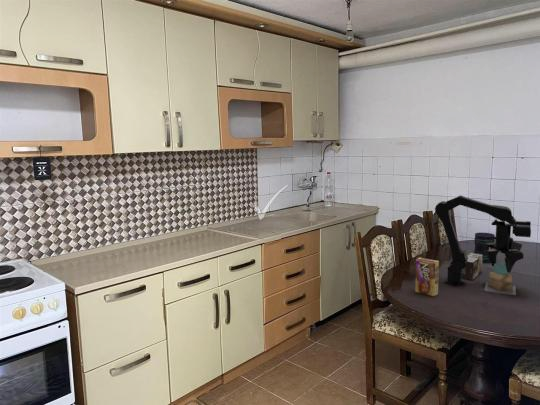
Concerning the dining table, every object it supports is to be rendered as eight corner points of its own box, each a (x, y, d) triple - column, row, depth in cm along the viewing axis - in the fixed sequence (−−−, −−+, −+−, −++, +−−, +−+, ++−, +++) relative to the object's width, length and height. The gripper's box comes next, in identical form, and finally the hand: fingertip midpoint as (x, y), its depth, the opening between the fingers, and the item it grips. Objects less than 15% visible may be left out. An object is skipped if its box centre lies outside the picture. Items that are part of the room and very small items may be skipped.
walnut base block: (498, 291, 180) (499, 283, 179) (487, 286, 186) (488, 278, 186) (512, 290, 181) (513, 282, 180) (501, 284, 187) (501, 277, 187)
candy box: (438, 293, 180) (439, 260, 178) (434, 296, 177) (435, 262, 175) (419, 289, 186) (419, 256, 184) (414, 291, 183) (415, 259, 181)
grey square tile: (515, 295, 175) (515, 294, 175) (484, 291, 181) (484, 290, 181) (515, 286, 186) (515, 285, 186) (485, 282, 192) (485, 282, 192)
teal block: (500, 274, 180) (500, 266, 180) (493, 272, 184) (494, 263, 183) (508, 274, 181) (508, 265, 180) (501, 271, 185) (502, 262, 184)
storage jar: (489, 258, 230) (490, 232, 228) (496, 263, 220) (498, 236, 218) (470, 258, 231) (471, 232, 229) (477, 263, 222) (478, 236, 219)
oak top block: (499, 283, 180) (499, 275, 179) (489, 279, 185) (490, 271, 185) (511, 282, 181) (511, 274, 180) (501, 277, 186) (502, 270, 186)
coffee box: (469, 252, 210) (459, 259, 198) (482, 254, 206) (473, 262, 194) (468, 269, 212) (458, 277, 200) (482, 272, 207) (472, 280, 195)
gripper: (536, 238, 172) (533, 274, 174) (503, 229, 190) (501, 262, 193) (512, 240, 170) (510, 276, 173) (482, 231, 188) (480, 263, 191)
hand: (501, 269), depth 182 cm, fingers open, 9 cm apart
